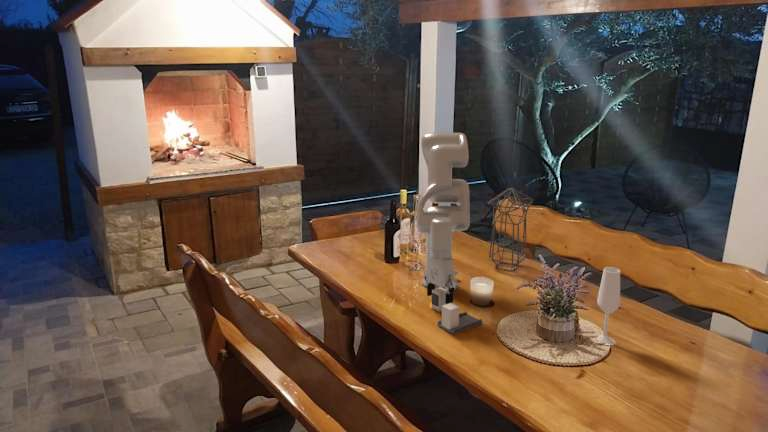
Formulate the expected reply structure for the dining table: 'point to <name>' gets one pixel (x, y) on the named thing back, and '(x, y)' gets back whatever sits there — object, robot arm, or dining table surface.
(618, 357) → the dining table surface
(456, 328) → the grey slab
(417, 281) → the dining table surface
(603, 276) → the champagne flute
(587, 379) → the dining table surface
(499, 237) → the geometric lantern
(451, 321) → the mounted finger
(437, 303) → the white rectangular block
